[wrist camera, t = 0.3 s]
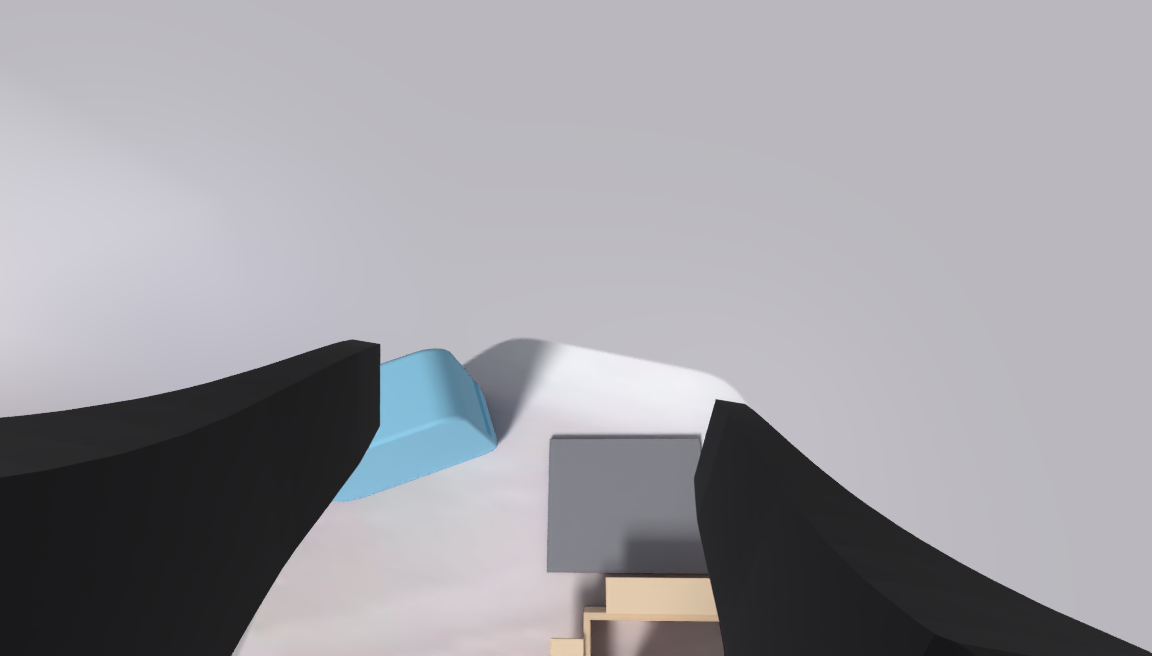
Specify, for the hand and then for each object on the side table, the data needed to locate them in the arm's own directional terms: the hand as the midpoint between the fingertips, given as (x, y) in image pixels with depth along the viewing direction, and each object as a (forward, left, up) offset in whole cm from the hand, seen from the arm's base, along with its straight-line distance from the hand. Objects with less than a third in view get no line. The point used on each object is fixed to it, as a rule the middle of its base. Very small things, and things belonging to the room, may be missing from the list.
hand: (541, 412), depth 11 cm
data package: (+4, +13, -29) cm, 32 cm away
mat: (0, -3, -29) cm, 29 cm away
